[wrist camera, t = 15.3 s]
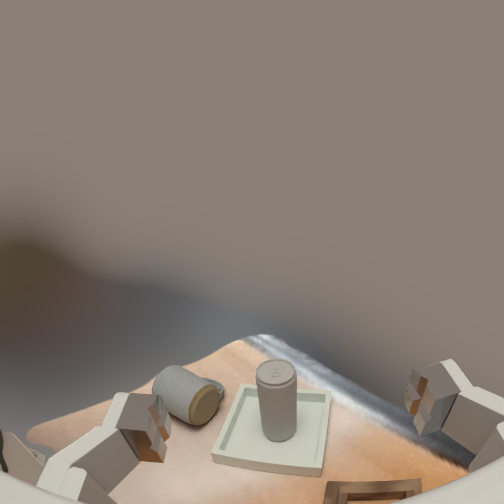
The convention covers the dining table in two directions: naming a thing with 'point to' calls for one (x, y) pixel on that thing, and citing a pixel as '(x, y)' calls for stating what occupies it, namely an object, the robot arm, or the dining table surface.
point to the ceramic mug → (188, 394)
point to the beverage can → (277, 398)
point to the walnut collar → (371, 490)
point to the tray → (269, 451)
